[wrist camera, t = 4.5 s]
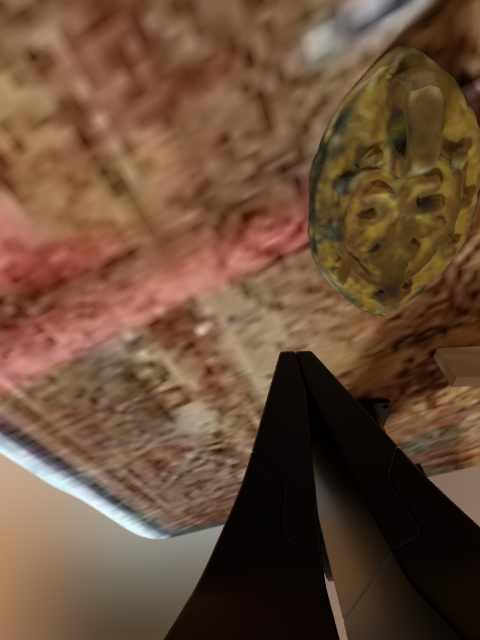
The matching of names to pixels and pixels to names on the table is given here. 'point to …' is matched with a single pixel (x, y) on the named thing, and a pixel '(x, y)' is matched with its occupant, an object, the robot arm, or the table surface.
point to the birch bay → (460, 365)
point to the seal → (394, 182)
